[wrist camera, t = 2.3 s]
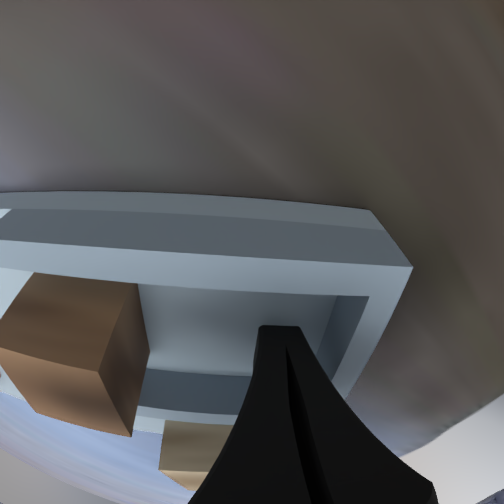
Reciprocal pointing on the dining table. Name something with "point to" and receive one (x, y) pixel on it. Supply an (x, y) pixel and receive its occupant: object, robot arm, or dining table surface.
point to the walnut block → (77, 350)
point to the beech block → (191, 451)
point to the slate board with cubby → (213, 283)
